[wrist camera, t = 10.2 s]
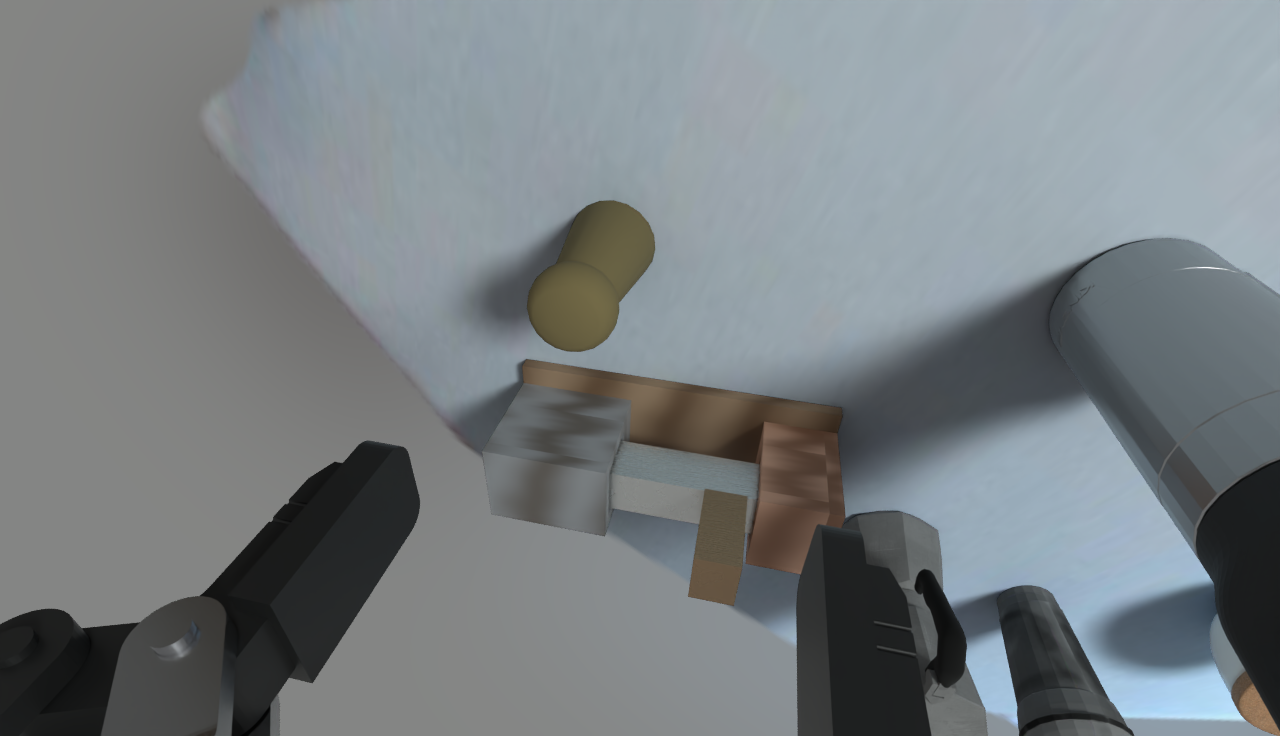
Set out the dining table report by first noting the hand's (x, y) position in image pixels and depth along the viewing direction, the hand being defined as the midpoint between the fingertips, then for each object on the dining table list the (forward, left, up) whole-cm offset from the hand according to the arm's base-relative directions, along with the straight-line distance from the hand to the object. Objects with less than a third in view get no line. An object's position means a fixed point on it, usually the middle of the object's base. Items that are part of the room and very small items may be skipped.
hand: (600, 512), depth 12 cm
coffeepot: (-18, +32, -30) cm, 48 cm away
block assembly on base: (+2, +24, -30) cm, 39 cm away
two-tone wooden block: (-1, +24, -26) cm, 35 cm away
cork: (+7, +8, -30) cm, 32 cm away
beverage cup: (-31, +37, -30) cm, 57 cm away
